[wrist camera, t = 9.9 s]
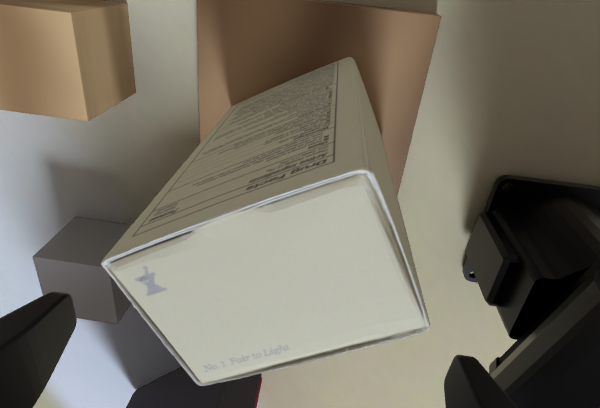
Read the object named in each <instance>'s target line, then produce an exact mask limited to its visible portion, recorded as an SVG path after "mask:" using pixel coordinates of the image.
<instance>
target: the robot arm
mask: <svg viewBox="0 0 600 408" xmlns="http://www.w3.org/2000/svg"><path fill="white" fill-rule="evenodd" d="M506 183H510V186H509V187H508V188H505V189H503V188H502V187H503V185H505V184H506ZM465 253H466V255H467V259H466V262H465V264H464V267H463V274H464V277H465V279H466V280H468V281H471V282H478V284H479V287H480V289H481V291H482V294H483V296H484V299H485V301H486V302H487V303H488V304H489V305H490V306H496V307H497V310H498V312H499V314H500V316H501V319H502V321H503V323H504V326H505V328H506V330H507V332H508V335H509V336H510V338H512V339H517V341H516V342H515V343H514V344H513V345H512V346H511V347H510V348H509V349H508V350H507V351H506V352H505V353H504V354H503V355H502V356H501V357H497V358H496V359H495V360H494V361H493V362H492V363H491V364H490V366H489V373H488V372H487V371H486V370H485V369H484V367H483V366H482V365H481V364H480V363H479V361H478V360H477V359H475V358H474V357H470V356H464V355H456V356H455V357H454V359H453V361H452V363H451V366H450V368H449V370H448V372H447V375H446V377H445V381H444V391H445V403H446V408H600V187H597V186H589V185H582V184H574V183H566V182H558V181H550V180H542V179H535V178H527V177H519V176H511V175H504V176H501V177H499V178H498V179H497V180H496V182H495V184H494V186H493V189H492V192H491V195H490V197H489V200H488V203H487V205H486V208H485V211H483V212H482V213H481V214H479V216H478V218H477V221H476V224H475V226H474V229H473V232H472V235H471V237H470V240H469V243H468V246H467V248H466V251H465ZM472 271H473V272H474V273H472V274H470V272H472ZM76 320H77V319H76V313H75V309H74V304H73V299H72V296H71V295H70V294H68V293H62V292H55V291H54V292H49V293H47V294H45V295H43V296H42V297H40V298H38V299H36V300H34V301H32V302H30V303H28V304H26V305H24V306H22V307H20V308H19V309H17V310H15V311H13V312H11V313H9V314H7V315H5V316H3V317H1V318H0V408H33V406H34V405H35V403H36V402H37V400H38V398H39V397H40V395H41V393H42V392H43V390H44V388H45V386H46V384H47V383H48V381H49V379H50V377H51V375H52V373H53V371H54V369H55V367H56V365H57V363H58V361H59V359H60V357H61V355H62V353H63V351H64V349H65V347H66V345H67V343H68V341H69V339H70V337H71V335H72V333H73V331H74V329H75V326H76Z"/></svg>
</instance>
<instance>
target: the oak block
mask: <svg viewBox="0 0 600 408" xmlns="http://www.w3.org/2000/svg"><path fill="white" fill-rule="evenodd" d="M134 93H136V88H135V78H134V67H133V57H132V47H131V36H130V26H129V16H128V5H127V3H120V2H112V1H104V0H0V110H7V111H14V112H22V113H29V114H37V115H45V116H52V117H60V118H67V119H75V120H83V121H89V120H91V119H93V118H94V117H96V116H98V115H99V114H101V113H103V112H104V111H106V110H108V109H109V108H111V107H113V106H114V105H116V104H118V103H119V102H121V101H123V100H124V99H126V98H128V97H129V96H131V95H133V94H134Z"/></svg>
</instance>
